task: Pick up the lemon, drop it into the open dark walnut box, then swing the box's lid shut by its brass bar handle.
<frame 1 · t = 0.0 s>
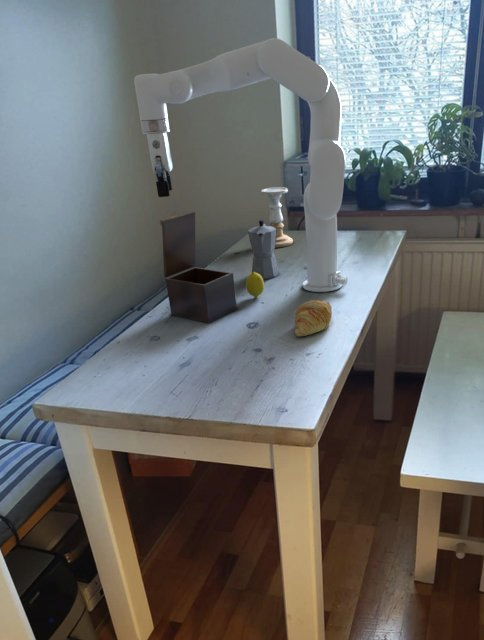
hand: (165, 193, 175), 31 cm above the table, tool pointing down, fingers open, 9 cm apart
croissant: (312, 326, 165), on the table
chest: (204, 311, 180), on the table
coffeepot: (265, 274, 208), on the table
lid: (174, 242, 173), point 19 cm above the table, hinge at 80.0°
candle holder: (277, 244, 241), on the table
lemon: (256, 298, 188), on the table
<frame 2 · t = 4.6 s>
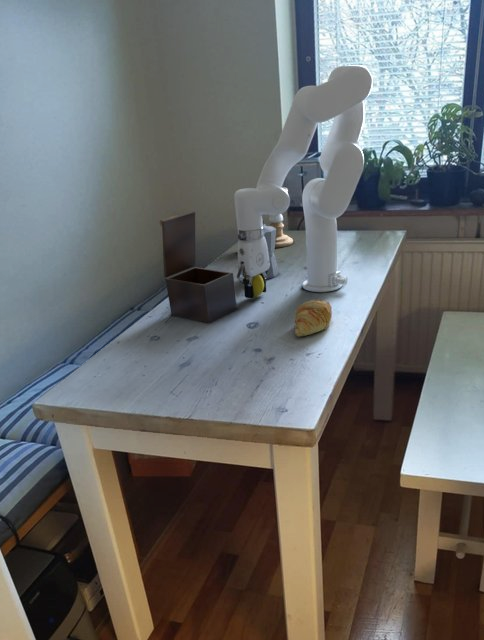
hand: (255, 294, 187), 1 cm above the table, tool pointing down, fingers closed on lemon, 5 cm apart
lemon: (256, 298, 188), on the table, touching gripper
everything else where it was.
when the fingers open (10 cm above the table, at t = 11.3 s): lemon drops 8 cm, resting on chest.
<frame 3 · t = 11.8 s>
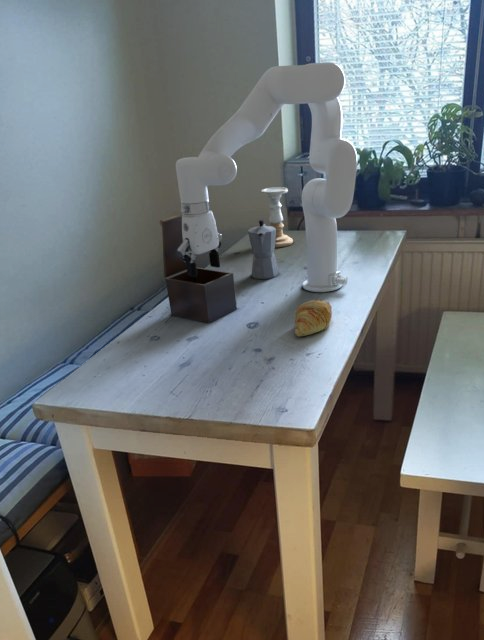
hand: (204, 271, 172), 12 cm above the table, tool pointing down, fingers open, 9 cm apart
lemon: (208, 308, 178), point 1 cm above the table, touching chest
everything else where it was.
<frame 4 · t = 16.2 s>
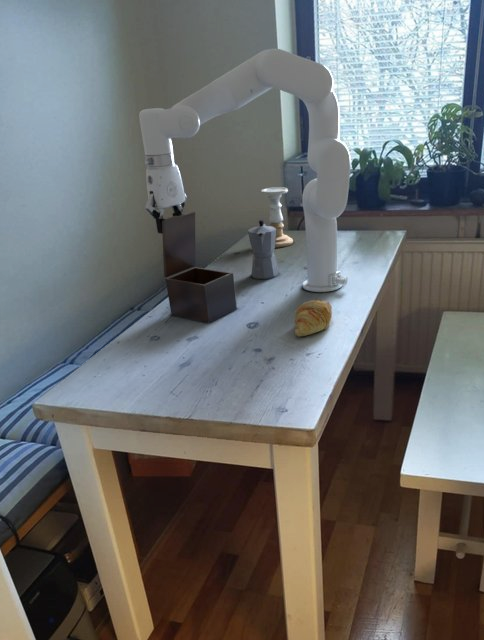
hand: (170, 229, 172), 23 cm above the table, tool pointing down, fingers closed on lid, 6 cm apart
lid: (174, 242, 173), point 19 cm above the table, hinge at 80.0°, touching gripper
everything else where it was.
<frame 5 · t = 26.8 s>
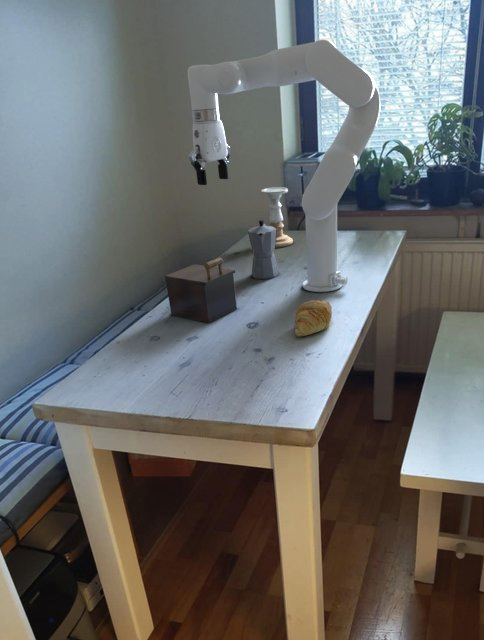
hand: (213, 181, 180), 32 cm above the table, tool pointing down, fingers open, 9 cm apart
lid: (199, 266, 172), point 13 cm above the table, hinge at 0.3°
everything else where it was.
at the end: lemon inside the target area in the chest (2.0 cm from its centre), point 1.3 cm above the chest's base; lid at +0° (first picture: +80°) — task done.
